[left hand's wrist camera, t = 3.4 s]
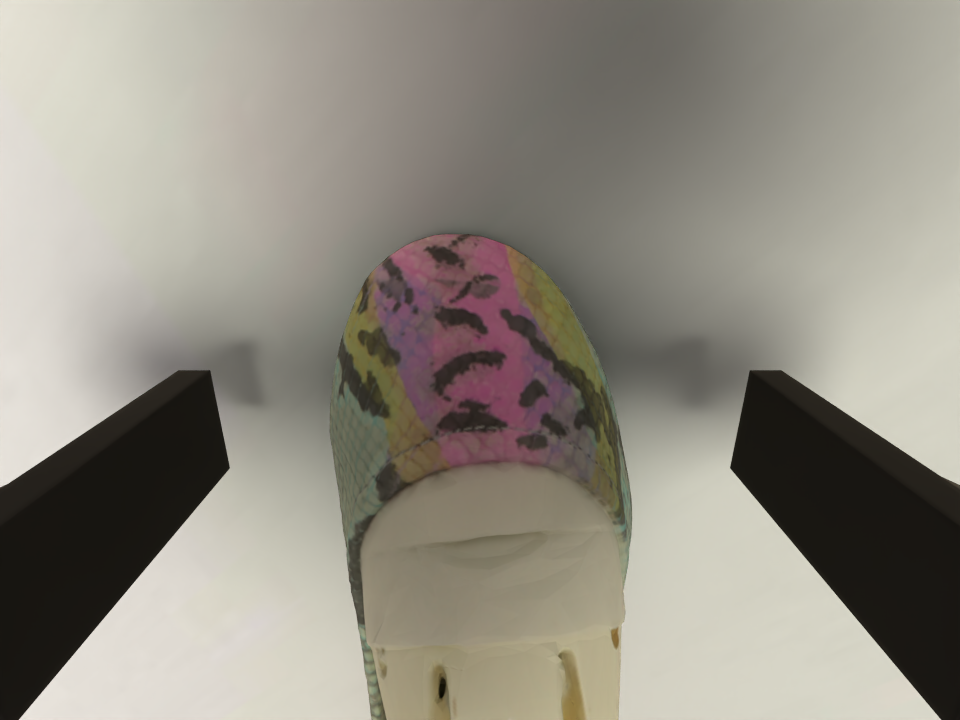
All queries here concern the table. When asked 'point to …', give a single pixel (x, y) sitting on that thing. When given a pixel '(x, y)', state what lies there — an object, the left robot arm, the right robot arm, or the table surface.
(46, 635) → the left robot arm
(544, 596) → the ballet flat
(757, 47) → the table surface
